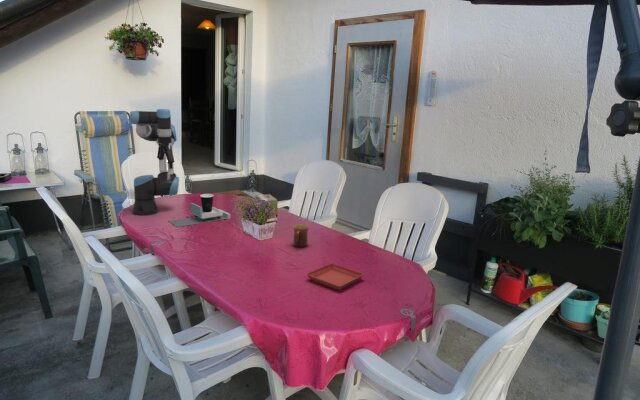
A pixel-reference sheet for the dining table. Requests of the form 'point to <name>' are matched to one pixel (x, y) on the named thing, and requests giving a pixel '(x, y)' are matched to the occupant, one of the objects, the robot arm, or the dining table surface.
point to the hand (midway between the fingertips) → (166, 172)
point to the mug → (300, 235)
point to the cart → (199, 213)
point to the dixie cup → (207, 203)
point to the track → (198, 220)
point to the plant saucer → (334, 276)
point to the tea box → (269, 200)
